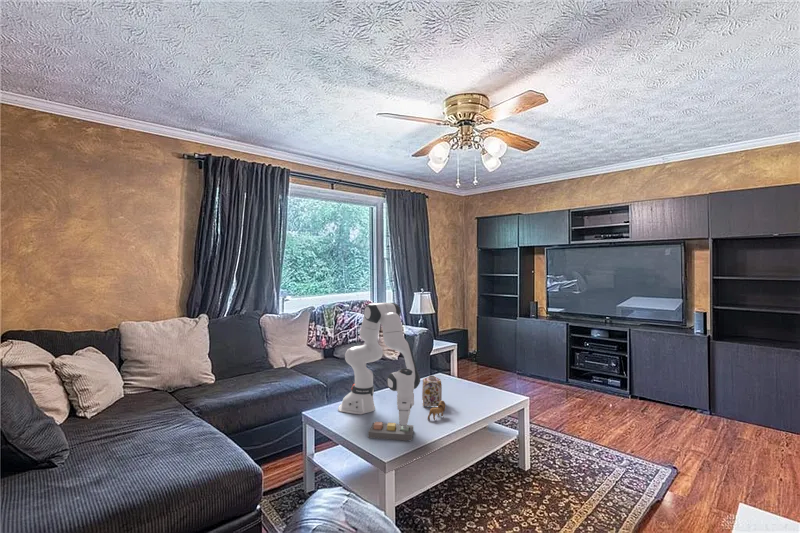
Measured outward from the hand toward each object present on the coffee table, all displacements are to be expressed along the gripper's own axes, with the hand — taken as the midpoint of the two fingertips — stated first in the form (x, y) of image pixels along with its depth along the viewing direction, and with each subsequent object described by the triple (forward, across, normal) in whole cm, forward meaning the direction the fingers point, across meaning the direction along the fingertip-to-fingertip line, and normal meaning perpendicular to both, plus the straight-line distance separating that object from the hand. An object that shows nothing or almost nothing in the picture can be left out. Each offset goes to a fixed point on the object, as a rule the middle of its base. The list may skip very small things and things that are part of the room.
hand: (405, 427), depth 203 cm
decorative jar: (+4, -48, +12) cm, 50 cm away
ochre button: (+2, 0, -7) cm, 8 cm away
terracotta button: (+2, 0, -14) cm, 14 cm away
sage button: (+4, 0, 0) cm, 4 cm away
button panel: (+4, 0, -7) cm, 8 cm away
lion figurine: (+4, -26, +16) cm, 31 cm away
